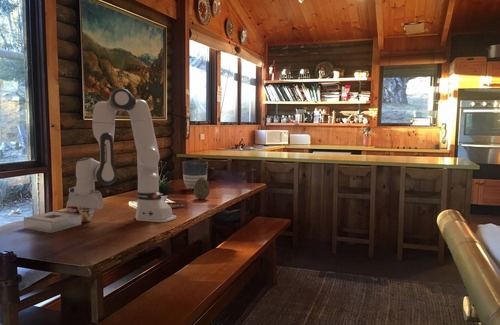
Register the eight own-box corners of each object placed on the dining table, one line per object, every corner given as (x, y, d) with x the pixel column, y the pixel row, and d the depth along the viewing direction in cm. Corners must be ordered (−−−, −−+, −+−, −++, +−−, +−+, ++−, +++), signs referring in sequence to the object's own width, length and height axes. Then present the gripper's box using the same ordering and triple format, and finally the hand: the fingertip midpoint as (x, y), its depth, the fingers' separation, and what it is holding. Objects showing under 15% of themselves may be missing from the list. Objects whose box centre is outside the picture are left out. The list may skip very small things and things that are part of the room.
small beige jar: (93, 220, 218) (92, 205, 217) (86, 222, 214) (86, 207, 213) (86, 219, 220) (86, 204, 219) (79, 221, 216) (79, 206, 215)
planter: (206, 191, 316) (206, 163, 314) (180, 191, 316) (180, 162, 314) (209, 187, 335) (209, 160, 333) (184, 187, 336) (184, 160, 333)
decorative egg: (205, 201, 277) (205, 178, 276) (190, 200, 281) (191, 177, 279) (212, 198, 288) (212, 176, 286) (197, 197, 291) (198, 176, 290)
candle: (72, 208, 245) (93, 214, 240) (58, 212, 234) (79, 218, 229) (73, 193, 243) (95, 198, 239) (59, 196, 233) (81, 202, 228)
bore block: (81, 224, 210) (81, 214, 210) (51, 232, 194) (50, 221, 193) (55, 220, 217) (54, 210, 217) (24, 228, 201) (23, 217, 201)
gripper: (105, 190, 214) (106, 216, 215) (75, 187, 222) (76, 212, 223) (96, 191, 208) (97, 219, 209) (66, 188, 216) (67, 215, 218)
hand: (86, 215), depth 217 cm, fingers closed on small beige jar, 5 cm apart
